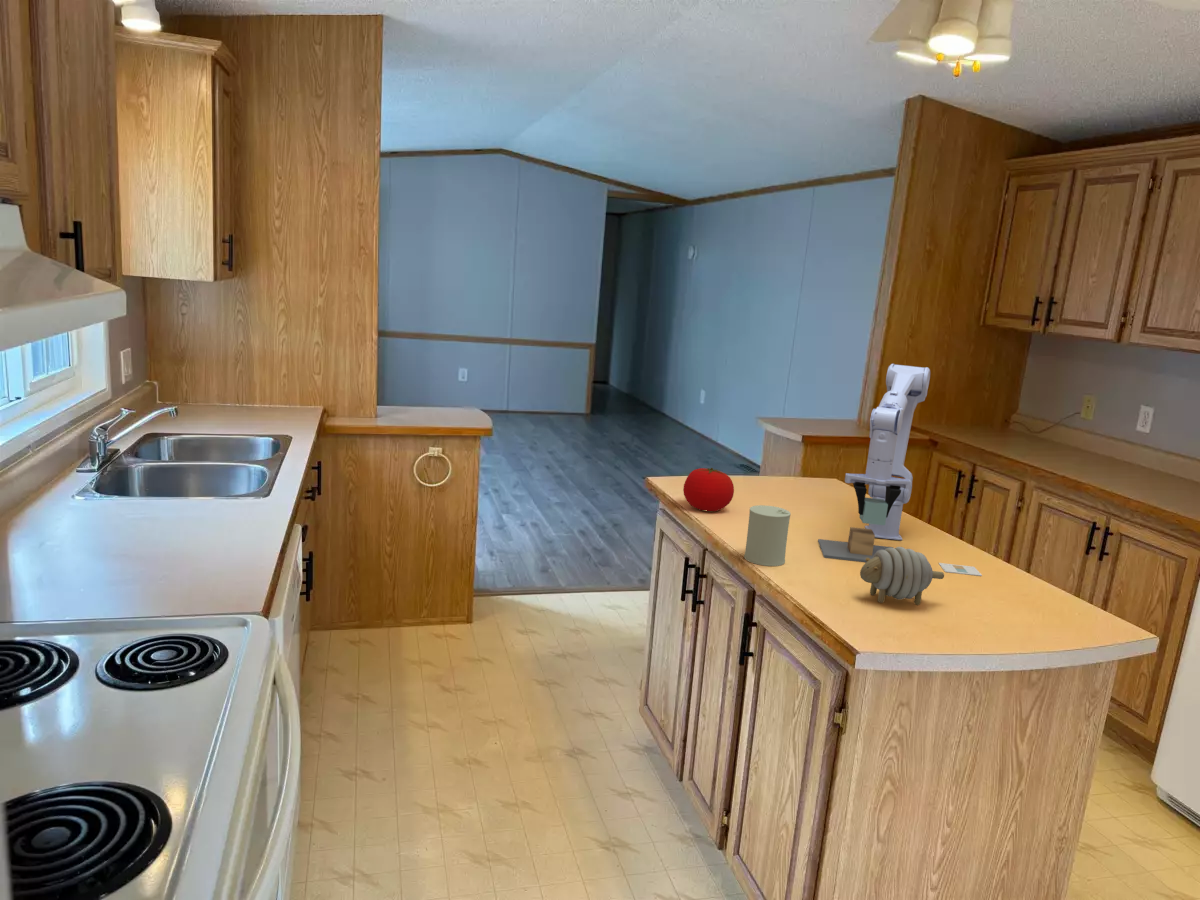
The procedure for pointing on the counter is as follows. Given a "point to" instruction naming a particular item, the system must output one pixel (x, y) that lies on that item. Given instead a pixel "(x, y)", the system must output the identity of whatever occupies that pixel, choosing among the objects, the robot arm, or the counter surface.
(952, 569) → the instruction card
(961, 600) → the counter surface
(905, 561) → the toy sheep
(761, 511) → the can
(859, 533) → the brown wooden cube
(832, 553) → the baseplate
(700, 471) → the tomato
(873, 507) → the teal block
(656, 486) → the counter surface
